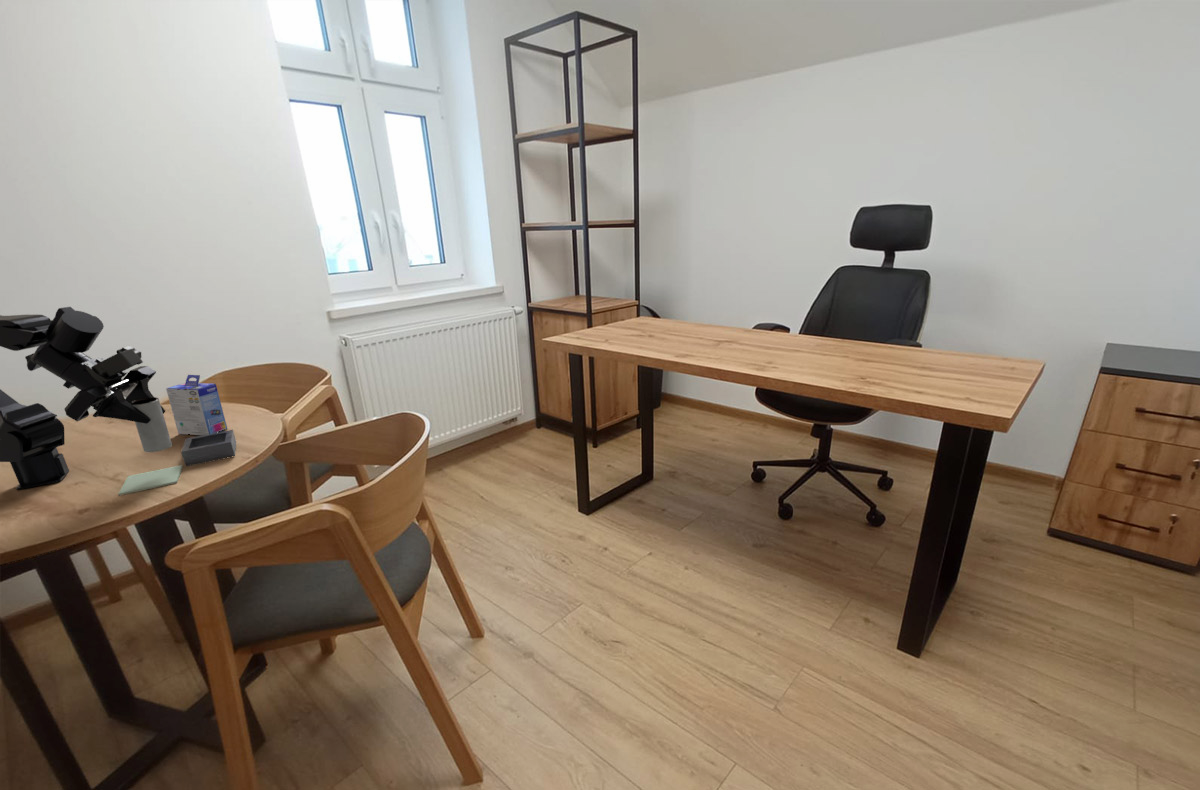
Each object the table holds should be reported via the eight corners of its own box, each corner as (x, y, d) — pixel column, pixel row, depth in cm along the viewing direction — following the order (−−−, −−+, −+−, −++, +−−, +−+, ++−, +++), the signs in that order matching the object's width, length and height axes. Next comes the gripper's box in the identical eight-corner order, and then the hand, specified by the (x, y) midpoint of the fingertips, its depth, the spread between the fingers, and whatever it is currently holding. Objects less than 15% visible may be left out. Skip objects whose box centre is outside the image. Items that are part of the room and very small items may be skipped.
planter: (171, 441, 110) (158, 395, 107) (172, 448, 107) (158, 401, 104) (143, 447, 108) (129, 400, 104) (144, 454, 104) (128, 406, 101)
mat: (119, 495, 101) (118, 493, 101) (128, 477, 108) (128, 476, 108) (177, 482, 105) (176, 481, 105) (182, 466, 113) (182, 464, 112)
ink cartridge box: (229, 428, 134) (214, 374, 129) (210, 436, 129) (194, 380, 124) (197, 426, 136) (182, 373, 131) (177, 434, 131) (160, 379, 126)
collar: (185, 466, 113) (181, 451, 111) (190, 452, 120) (186, 438, 119) (234, 456, 117) (230, 442, 116) (236, 443, 124) (232, 429, 123)
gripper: (62, 348, 90) (152, 403, 96) (132, 327, 108) (205, 375, 113) (25, 394, 92) (116, 446, 97) (100, 366, 109) (173, 412, 114)
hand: (156, 417), depth 105 cm, fingers closed on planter, 4 cm apart
